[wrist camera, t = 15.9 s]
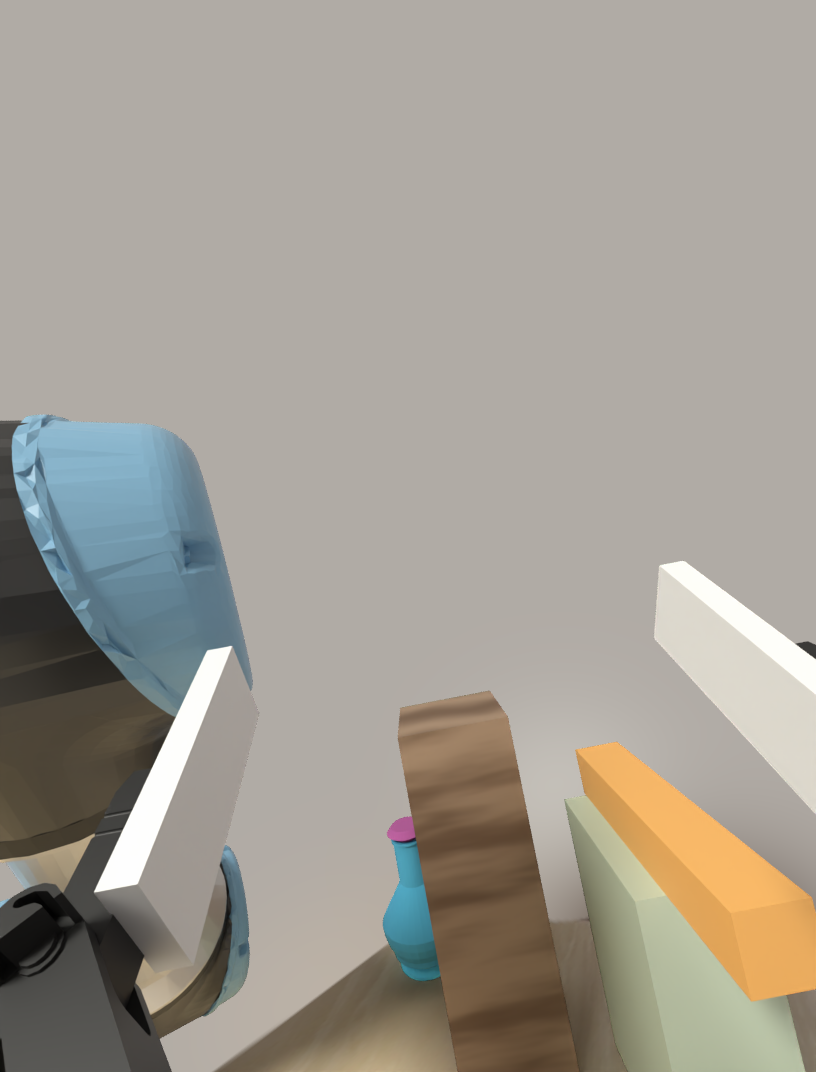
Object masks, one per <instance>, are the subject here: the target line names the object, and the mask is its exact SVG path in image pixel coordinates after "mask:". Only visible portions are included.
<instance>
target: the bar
mask: <svg viewBox="0 0 816 1072" xmlns="http://www.w3.org/2000/svg"><path fill="white" fill-rule="evenodd" d="M575 751H576V755H577V760H578V765H579V769H580V774H581V779H582V783H583V788H584V792H585V794H586V796H587V797H588V798H589V799H590V801H591V802H592V803H593V804H594V806H595V807H596V808H597V809H598V811H599V812H600V813H601V814H602V816H603V817H604V818H605V819H606V821H607V822H608V823H609V824H610V826H611V827H612V828H613V829H614V831H615V832H616V833H617V834H618V836H619V837H620V838H621V839H622V841H623V842H624V843H625V844H626V846H627V847H628V848H629V849H630V851H631V852H632V853H633V854H634V856H635V857H636V858H637V859H638V861H639V862H640V863H641V864H642V866H643V867H644V868H645V869H646V871H647V872H648V873H649V874H650V876H651V877H652V878H653V879H654V881H655V882H656V883H657V884H658V886H659V887H660V888H661V889H662V891H663V892H664V893H665V894H666V896H667V897H668V898H669V899H670V901H671V902H672V903H673V904H674V906H675V907H676V908H677V909H678V911H679V912H680V913H681V914H682V916H683V917H684V918H685V919H686V921H687V922H688V923H689V924H690V926H691V927H692V928H693V929H694V931H695V932H696V933H697V934H698V936H699V937H700V938H701V939H702V941H703V942H704V943H705V944H706V946H707V947H708V948H709V949H710V951H711V952H712V953H713V954H714V956H715V957H716V958H717V959H718V961H719V962H720V963H721V964H722V966H723V967H724V968H725V969H726V971H727V972H728V973H729V974H730V976H731V977H732V978H733V979H734V981H735V982H736V983H737V984H738V986H739V987H740V988H741V989H742V991H743V992H744V993H745V994H746V996H747V997H748V998H749V999H750V1001H751V1002H753V1001H758V1000H763V999H768V998H773V997H778V996H783V995H789V994H794V993H799V992H804V991H809V990H814V989H816V913H815V908H814V904H813V901H812V897H811V896H809V895H808V894H807V893H806V892H804V891H803V890H802V889H801V888H799V887H798V886H797V885H796V884H794V883H793V882H792V881H791V880H789V879H788V878H787V877H786V876H784V875H783V874H782V873H781V872H779V871H778V870H777V869H776V868H774V867H773V866H772V865H770V864H769V863H768V862H767V861H766V860H764V859H763V858H762V857H761V856H759V855H758V854H757V853H756V852H754V851H753V850H752V849H751V848H749V847H748V846H747V845H746V844H744V843H743V842H742V841H741V840H739V839H738V838H737V837H736V836H734V835H733V834H732V833H731V832H729V831H728V830H727V829H725V828H724V827H723V826H722V825H721V824H719V823H718V822H717V821H715V820H714V819H713V818H712V817H710V816H709V815H708V814H707V813H705V812H704V811H703V810H702V809H700V808H699V807H698V806H697V805H695V804H694V803H693V802H692V801H690V800H689V799H688V798H687V797H685V796H684V795H683V794H681V793H680V792H679V791H678V790H677V789H675V788H674V787H673V786H672V785H670V784H669V783H668V782H667V781H665V780H664V779H663V778H662V777H660V776H659V775H658V774H657V773H655V772H654V771H653V770H652V769H650V768H649V767H648V766H647V765H645V764H644V763H643V762H641V761H640V760H639V759H638V758H637V757H635V756H634V755H633V754H631V753H630V752H629V751H628V750H627V749H625V748H624V747H623V746H621V745H620V744H619V743H618V742H614V743H608V744H603V745H598V746H592V747H587V748H582V749H577V750H575Z"/></svg>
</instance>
